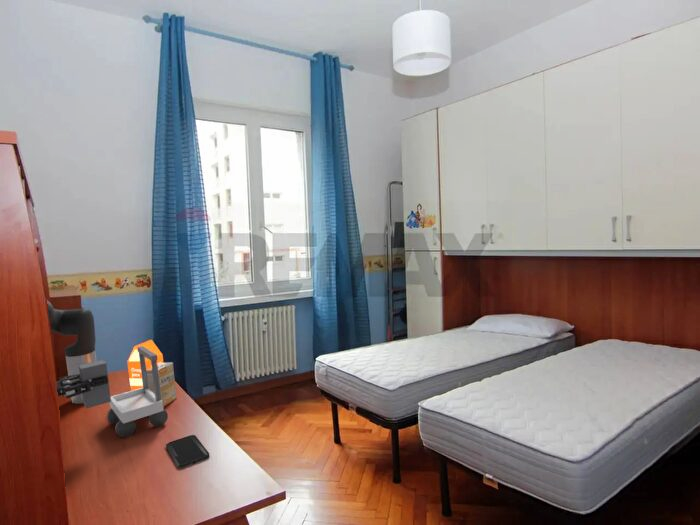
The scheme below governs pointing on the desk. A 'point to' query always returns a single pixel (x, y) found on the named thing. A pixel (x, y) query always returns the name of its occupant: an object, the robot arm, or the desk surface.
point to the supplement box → (164, 382)
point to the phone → (187, 451)
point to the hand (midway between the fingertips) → (105, 377)
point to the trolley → (138, 401)
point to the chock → (98, 392)
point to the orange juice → (135, 366)
